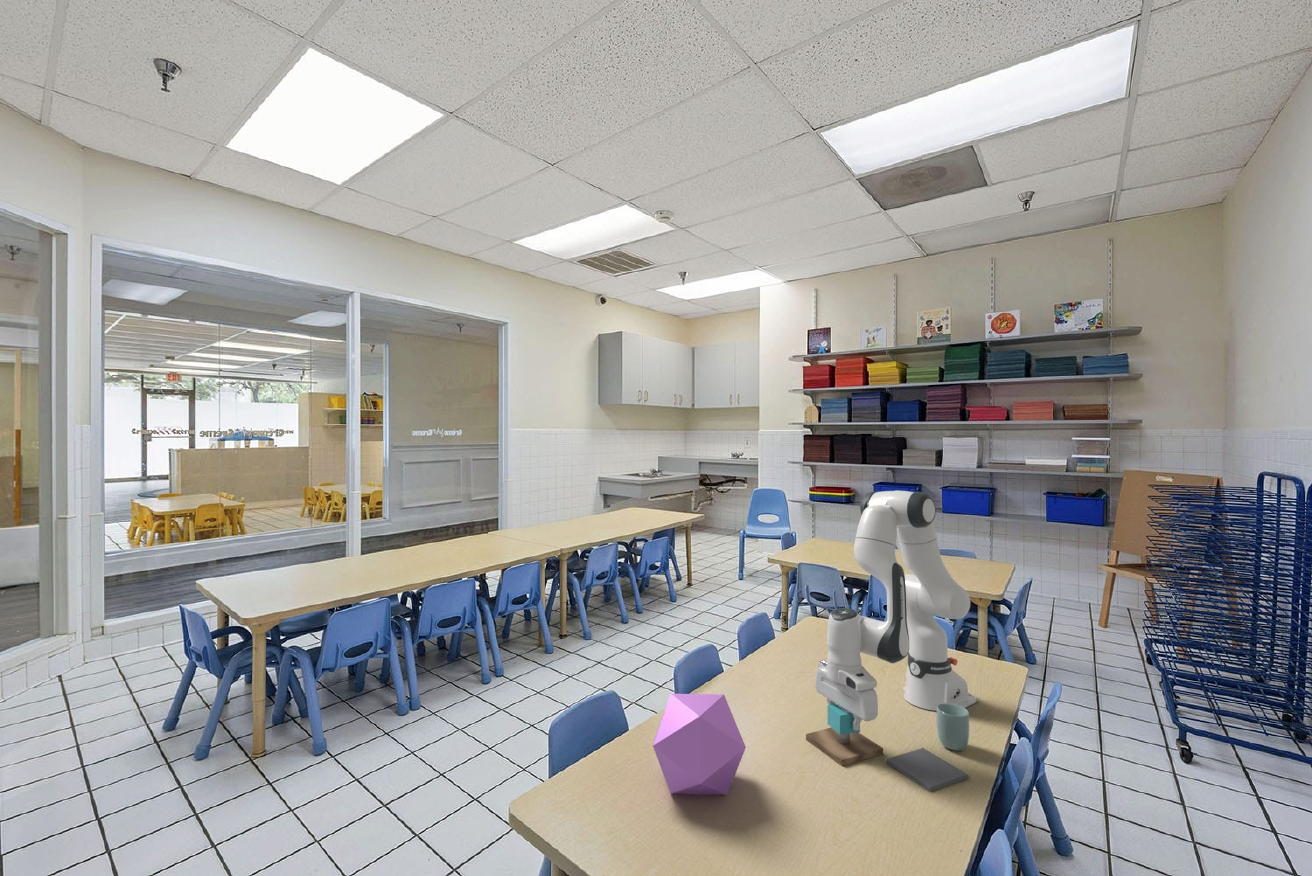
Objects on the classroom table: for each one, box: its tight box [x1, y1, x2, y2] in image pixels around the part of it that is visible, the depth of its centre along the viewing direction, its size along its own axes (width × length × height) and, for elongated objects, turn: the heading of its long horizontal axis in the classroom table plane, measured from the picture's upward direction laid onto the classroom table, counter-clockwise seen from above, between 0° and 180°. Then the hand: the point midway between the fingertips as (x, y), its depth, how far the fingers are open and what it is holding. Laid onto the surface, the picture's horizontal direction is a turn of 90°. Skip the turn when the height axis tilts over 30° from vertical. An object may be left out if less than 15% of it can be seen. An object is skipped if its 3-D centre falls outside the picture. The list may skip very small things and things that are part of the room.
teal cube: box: [827, 704, 861, 735], centre depth 150 cm, size 6×6×5 cm
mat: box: [886, 747, 969, 792], centre depth 139 cm, size 13×13×1 cm
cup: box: [936, 703, 970, 752], centre depth 150 cm, size 8×8×10 cm
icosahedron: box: [652, 693, 747, 796], centre depth 133 cm, size 22×21×25 cm
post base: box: [805, 727, 884, 767], centre depth 150 cm, size 14×14×8 cm
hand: (844, 722), depth 150 cm, fingers closed on teal cube, 6 cm apart
